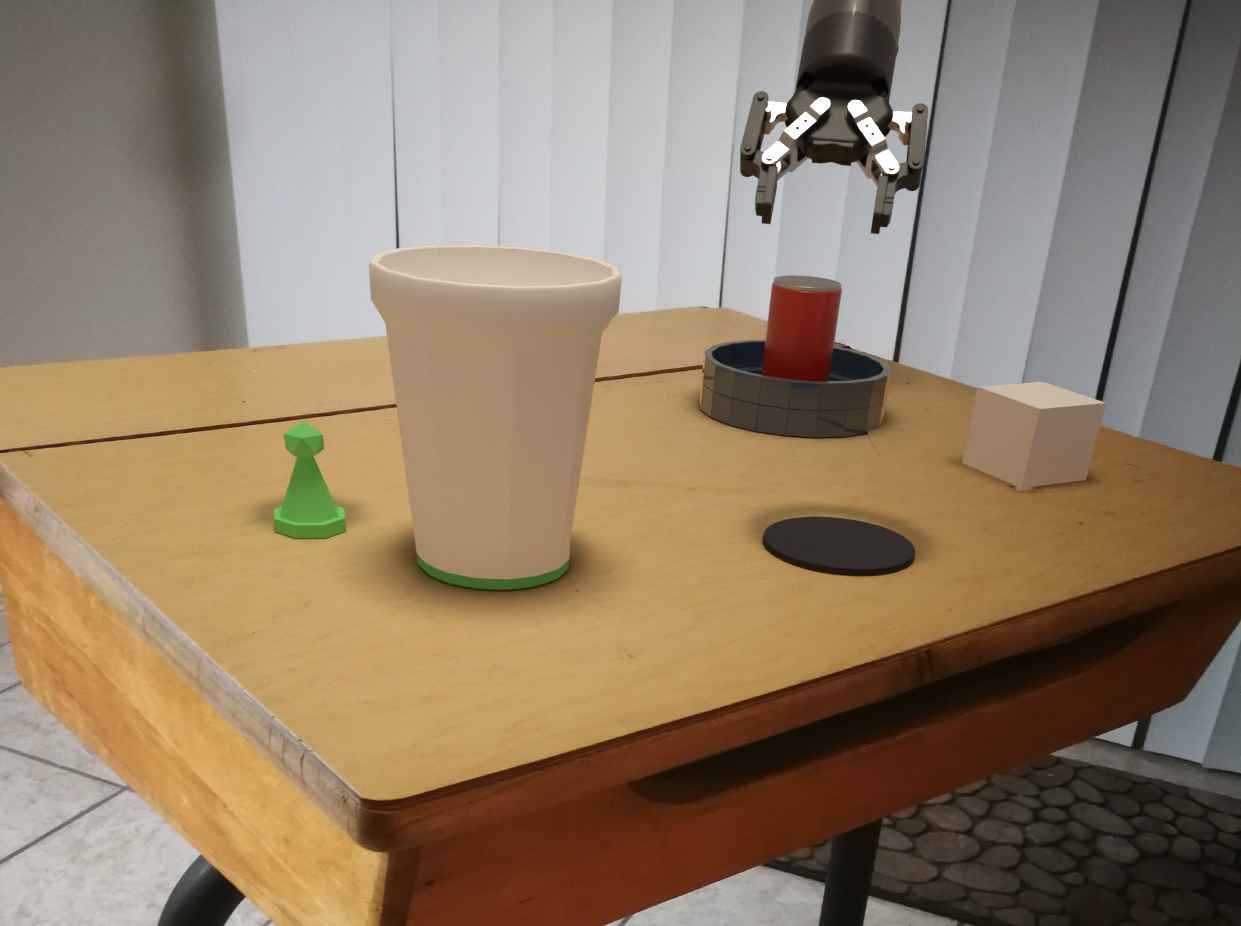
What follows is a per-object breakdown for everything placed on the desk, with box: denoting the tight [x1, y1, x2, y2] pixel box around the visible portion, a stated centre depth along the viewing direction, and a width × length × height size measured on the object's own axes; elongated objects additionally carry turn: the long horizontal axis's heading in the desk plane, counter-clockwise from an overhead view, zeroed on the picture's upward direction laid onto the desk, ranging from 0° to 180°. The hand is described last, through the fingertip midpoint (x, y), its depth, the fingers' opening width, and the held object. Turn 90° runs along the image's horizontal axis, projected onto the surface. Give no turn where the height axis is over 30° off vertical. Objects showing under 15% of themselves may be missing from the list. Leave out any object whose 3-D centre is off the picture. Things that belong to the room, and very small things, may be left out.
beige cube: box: [961, 381, 1107, 492], centre depth 90 cm, size 6×6×6 cm
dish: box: [698, 339, 893, 439], centre depth 101 cm, size 14×14×4 cm
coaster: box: [762, 516, 916, 576], centre depth 77 cm, size 9×9×1 cm
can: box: [761, 274, 843, 381], centre depth 99 cm, size 5×5×10 cm
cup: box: [368, 244, 623, 591], centre depth 68 cm, size 12×12×15 cm
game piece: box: [273, 420, 347, 539], centre depth 74 cm, size 4×4×6 cm
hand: (820, 221), depth 101 cm, fingers open, 8 cm apart
